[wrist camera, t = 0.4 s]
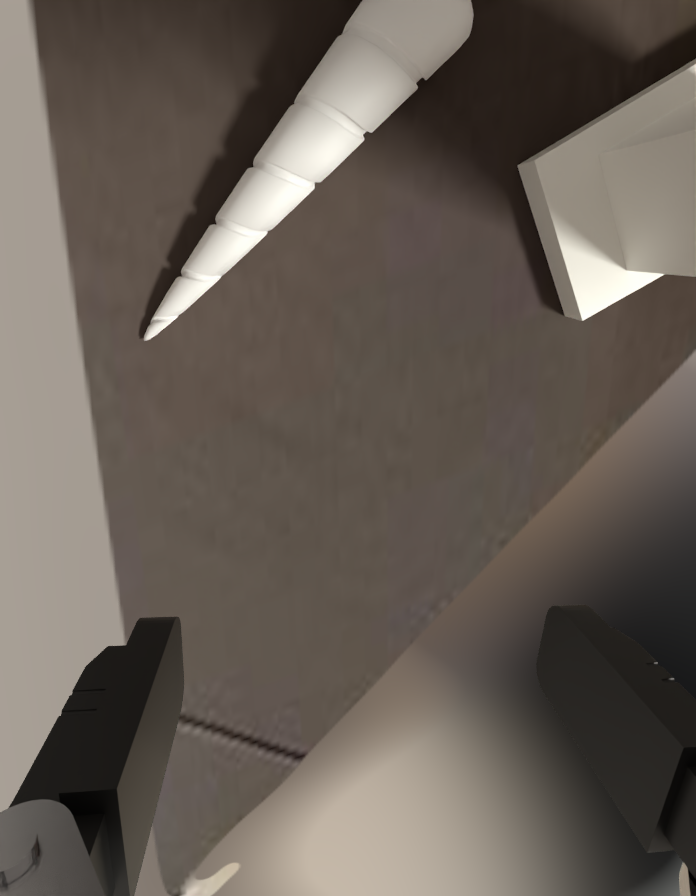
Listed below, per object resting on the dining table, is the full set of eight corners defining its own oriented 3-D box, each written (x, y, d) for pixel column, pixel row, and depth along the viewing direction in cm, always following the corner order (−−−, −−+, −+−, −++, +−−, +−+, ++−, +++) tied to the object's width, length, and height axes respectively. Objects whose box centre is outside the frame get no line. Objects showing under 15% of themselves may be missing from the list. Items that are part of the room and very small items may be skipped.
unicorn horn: (92, 291, 28) (59, 300, 23) (404, -43, 24) (434, -106, 20) (158, 350, 29) (139, 369, 25) (457, 50, 26) (495, 11, 21)
